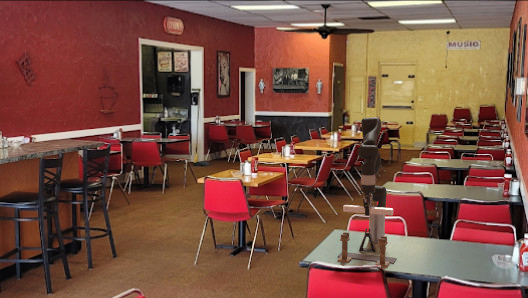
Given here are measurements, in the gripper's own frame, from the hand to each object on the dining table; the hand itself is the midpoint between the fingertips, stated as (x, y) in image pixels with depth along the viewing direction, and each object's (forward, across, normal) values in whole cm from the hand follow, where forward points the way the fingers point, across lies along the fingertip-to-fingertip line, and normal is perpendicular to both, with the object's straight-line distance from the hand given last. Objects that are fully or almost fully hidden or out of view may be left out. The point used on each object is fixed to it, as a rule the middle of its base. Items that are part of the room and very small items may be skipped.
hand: (367, 214), depth 302 cm
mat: (+24, 0, 0) cm, 24 cm away
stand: (+24, +8, 0) cm, 25 cm away
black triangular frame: (+25, -16, -3) cm, 29 cm away
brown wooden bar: (-1, 0, 0) cm, 1 cm away
